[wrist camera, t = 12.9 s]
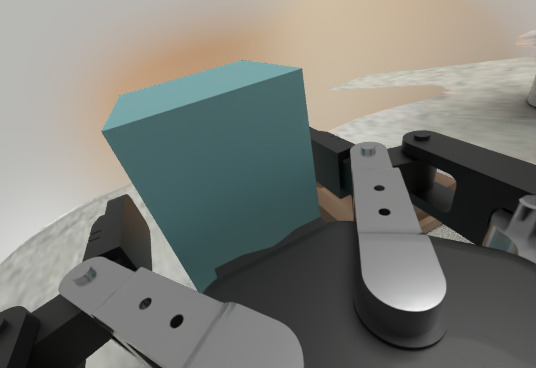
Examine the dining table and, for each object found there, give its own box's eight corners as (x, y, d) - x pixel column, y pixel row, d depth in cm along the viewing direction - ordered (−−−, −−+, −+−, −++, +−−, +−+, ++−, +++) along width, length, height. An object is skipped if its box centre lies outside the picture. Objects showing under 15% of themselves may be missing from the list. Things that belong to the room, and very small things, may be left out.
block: (292, 269, 18) (242, 59, 11) (334, 333, 14) (301, 68, 7) (228, 303, 17) (120, 95, 10) (253, 383, 13) (101, 131, 5)
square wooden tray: (367, 163, 28) (367, 139, 27) (461, 212, 20) (470, 181, 18) (285, 200, 26) (280, 176, 24) (355, 274, 17) (354, 244, 16)
